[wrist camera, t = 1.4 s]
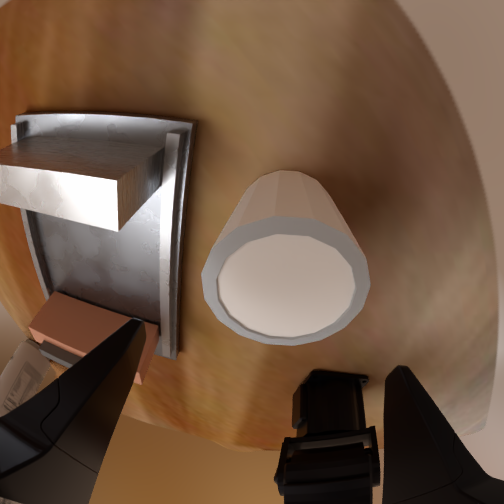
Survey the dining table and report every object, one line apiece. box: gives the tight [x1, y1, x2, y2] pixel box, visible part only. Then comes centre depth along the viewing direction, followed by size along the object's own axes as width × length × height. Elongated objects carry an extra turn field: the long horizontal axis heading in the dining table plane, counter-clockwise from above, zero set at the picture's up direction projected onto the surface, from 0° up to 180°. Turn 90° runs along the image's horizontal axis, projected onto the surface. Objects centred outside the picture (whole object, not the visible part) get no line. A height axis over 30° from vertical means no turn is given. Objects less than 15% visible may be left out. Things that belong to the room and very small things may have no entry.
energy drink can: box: [0, 340, 50, 417], centre depth 27 cm, size 6×6×15 cm
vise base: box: [0, 111, 198, 360], centre depth 18 cm, size 14×21×6 cm, turn 169°
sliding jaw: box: [28, 291, 159, 385], centre depth 20 cm, size 11×2×6 cm, turn 79°
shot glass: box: [201, 170, 371, 346], centre depth 14 cm, size 7×7×7 cm
